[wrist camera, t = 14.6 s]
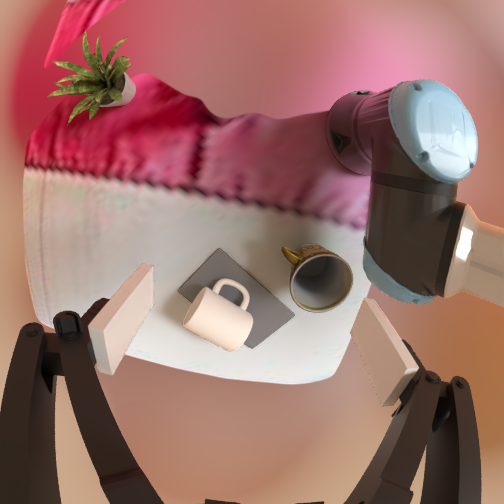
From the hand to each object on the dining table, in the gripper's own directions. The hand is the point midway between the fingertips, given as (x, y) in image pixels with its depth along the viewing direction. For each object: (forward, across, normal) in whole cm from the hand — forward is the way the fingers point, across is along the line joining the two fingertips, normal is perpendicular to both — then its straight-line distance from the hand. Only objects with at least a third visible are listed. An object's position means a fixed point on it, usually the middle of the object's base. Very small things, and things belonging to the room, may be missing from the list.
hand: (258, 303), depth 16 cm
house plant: (+31, -26, +19) cm, 45 cm away
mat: (+32, 0, -20) cm, 37 cm away
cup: (+28, +2, -22) cm, 36 cm away
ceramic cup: (+32, +10, -8) cm, 35 cm away
